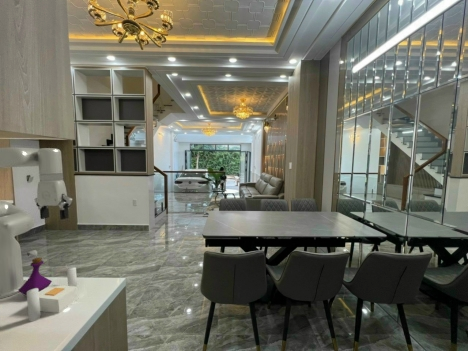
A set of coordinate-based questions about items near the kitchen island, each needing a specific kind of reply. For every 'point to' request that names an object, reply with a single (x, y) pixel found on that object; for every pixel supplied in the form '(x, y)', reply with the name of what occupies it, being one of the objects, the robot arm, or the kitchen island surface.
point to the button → (54, 291)
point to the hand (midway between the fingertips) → (54, 218)
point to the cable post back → (72, 277)
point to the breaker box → (57, 298)
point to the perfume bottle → (35, 276)
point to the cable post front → (33, 304)
